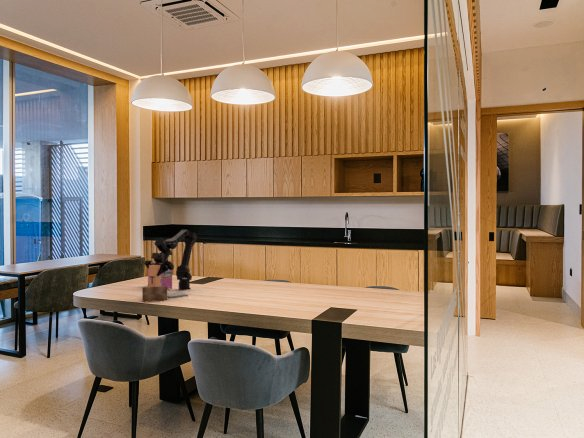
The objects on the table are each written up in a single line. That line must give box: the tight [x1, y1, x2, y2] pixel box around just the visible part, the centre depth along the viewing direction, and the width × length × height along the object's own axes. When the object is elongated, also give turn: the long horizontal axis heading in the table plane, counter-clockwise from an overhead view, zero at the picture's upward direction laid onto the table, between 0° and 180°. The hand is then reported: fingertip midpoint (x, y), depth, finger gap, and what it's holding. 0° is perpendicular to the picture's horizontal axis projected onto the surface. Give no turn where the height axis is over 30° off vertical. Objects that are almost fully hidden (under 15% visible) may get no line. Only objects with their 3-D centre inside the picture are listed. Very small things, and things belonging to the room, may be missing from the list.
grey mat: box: [167, 291, 189, 299], centre depth 283 cm, size 12×12×1 cm
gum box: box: [147, 268, 173, 290], centre depth 317 cm, size 24×8×14 cm, turn 42°
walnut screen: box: [141, 286, 168, 303], centre depth 268 cm, size 14×5×8 cm, turn 107°
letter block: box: [148, 265, 161, 287], centre depth 277 cm, size 5×5×13 cm
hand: (153, 275), depth 276 cm, fingers closed on letter block, 5 cm apart
